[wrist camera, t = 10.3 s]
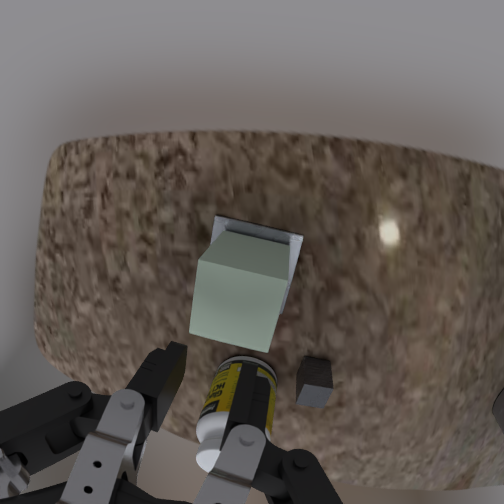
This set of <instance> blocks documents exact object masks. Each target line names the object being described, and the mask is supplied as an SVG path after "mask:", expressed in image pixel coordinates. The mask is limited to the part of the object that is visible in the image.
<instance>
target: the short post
mask: <svg viewBox="0 0 504 504" xmlns="http://www.w3.org/2000/svg"><path fill="white" fill-rule="evenodd" d="M332 391H333V380H332V372H331V363H330V361H328V360H323V359H318V358H313V357H308V356H304V358H303V360H302V363H301V366H300V368H299V371H298V373H297V378H296V404H299V405H305V406H311V407H318V408H324V406H325V404H326V402H327V400H328V398H329V397H330V395H331V393H332Z"/></svg>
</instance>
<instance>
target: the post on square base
mask: <svg viewBox="0 0 504 504" xmlns="http://www.w3.org/2000/svg"><path fill="white" fill-rule="evenodd" d="M223 230H224V231H229V232H233V233H238V234H242V235H246V236H251V237H255V238H259V239H264V240H268V241H272V242H276V243H281V244H285V245H289V246H290V258H289V275H288V283H287V287H286V291H285V294H284V298H283V302H282V305H281V309H280V312H279V314H282V313H283V309H284V306H285V302H286V299H287V295H288V292H289V288H290V285H291V281H292V278H293V274H294V270H295V267H296V263H297V259H298V256H299V252H300V248H301V244H302V241H303V237H304V236H303V235H302V234H298V233H294V232H290V231H286V230H281V229H277V228H273V227H269V226H264V225H260V224H256V223H252V222H247V221H243V220H238V219H234V218H230V217H225V216H221V215H216V216H215V220H214V226H213V232H212V238H211V244H212V243H213V242H214V241H215V240H216V239H217V237H218V236H219V235H220V234H221V233H222V232H223ZM211 244H210V245H211Z"/></svg>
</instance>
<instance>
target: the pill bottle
mask: <svg viewBox="0 0 504 504" xmlns="http://www.w3.org/2000/svg"><path fill="white" fill-rule="evenodd" d="M243 361H246V362H250V363H254V364H258V371H257V376H261V377H265V378H268V381H269V383H270V385H271V391H270V399H269V406H268V413H267V421H266V428H265V433H266V436H267V438H268V440H269V441H270V439H271V431H272V423H273V415H274V407H275V399H276V389H277V378H276V375H275V373H274V371H273V370H272V368H271V367H270V366H269V365H267V364H266V363H265V362H263V361H261V360H259V359H256V358H253V357H248V356H237V357H233V358H230V359H228V360H226V361H224V362H223V363H222V364H221V365H220V366H219V368H218V369H217V372H216V374H215V377H214V379H213V382H212V385H211V388H210V391H209V394H208V396H207V399H206V402H205V404H204V407H203V410H202V413H201V415H200V418H199V420H198V423H197V428H196V433H197V437H198V439H199V441H200V443H201V444H200V446H199V448H198V452H197V455H196V461H197V463H198V465H199V466H200V467H201V468H203V469H204V470H205V471H207V472H210V470H212V468H213V467H214V465H215V462H216V460H217V458H218V456H219V454H220V452H221V451H219V449H220V446H221V442H222V438H223V434H224V430H225V426H226V423H227V419H228V415H229V411H230V408H231V404H232V400H233V396H234V393H235V389H236V385H237V381H238V378H239V374H240V370H241V366H242V362H243Z"/></svg>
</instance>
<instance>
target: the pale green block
mask: <svg viewBox="0 0 504 504" xmlns="http://www.w3.org/2000/svg"><path fill="white" fill-rule="evenodd" d="M289 258H290V246H289V245H285V244H281V243H276V242H272V241H268V240H264V239H259V238H255V237H251V236H246V235H242V234H238V233H233V232H229V231H224V230H223V232H222V233H221V234H220V235H219V236H218V237H217V239H216V240H215V241H214V242H213V243H212V244H211V245H210V247H209V248H208V249H207V250H206V251H205V252H204V254H203V255H202V256H201V257H200V258H199V260H198V267H197V274H196V281H195V289H194V296H193V304H192V312H191V321H190V329H189V333H191V334H195V335H198V336H202V337H206V338H209V339H213V340H217V341H221V342H224V343H228V344H232V345H236V346H240V347H245V348H249V349H253V350H257V351H262V352H266V353H268V350H269V347H270V344H271V340H272V337H273V333H274V330H275V326H276V323H277V319H278V316H279V312H280V309H281V305H282V302H283V298H284V294H285V291H286V287H287V283H288V275H289Z"/></svg>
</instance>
